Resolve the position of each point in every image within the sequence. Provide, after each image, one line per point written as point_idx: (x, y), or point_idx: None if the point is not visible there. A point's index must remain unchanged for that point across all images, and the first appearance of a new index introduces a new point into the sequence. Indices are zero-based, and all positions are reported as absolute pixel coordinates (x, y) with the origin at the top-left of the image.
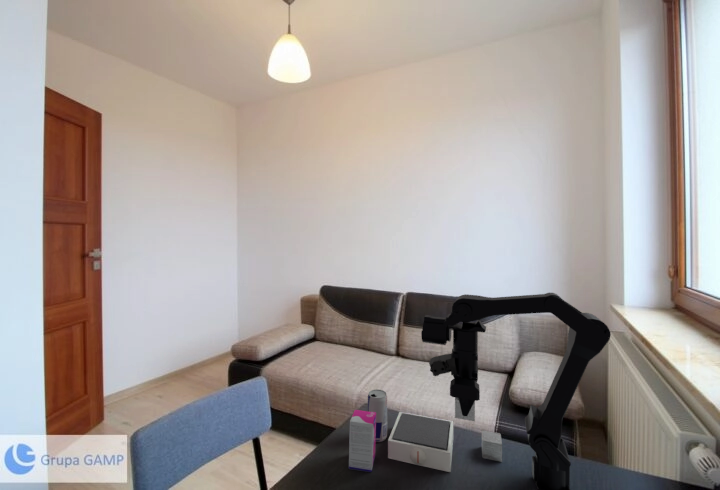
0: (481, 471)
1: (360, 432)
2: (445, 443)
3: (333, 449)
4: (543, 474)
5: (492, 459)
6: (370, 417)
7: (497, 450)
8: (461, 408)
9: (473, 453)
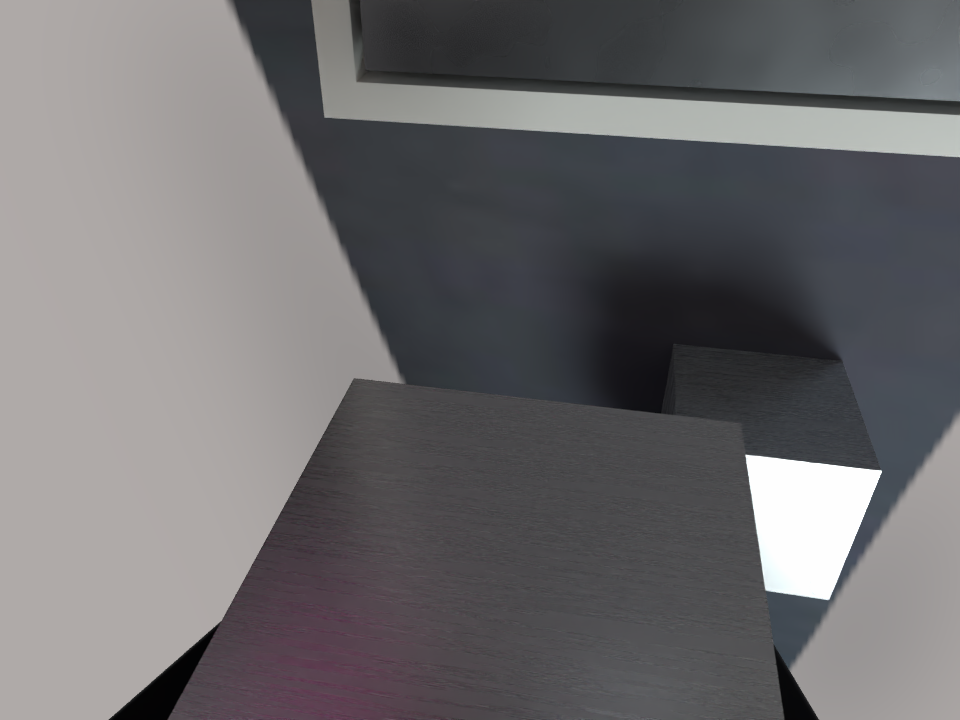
0: (496, 315)
1: None
2: (469, 55)
3: None
4: None
5: (661, 412)
6: None
7: None
8: (188, 662)
9: (725, 282)
